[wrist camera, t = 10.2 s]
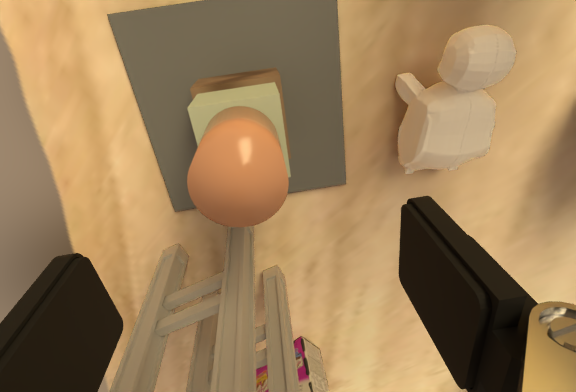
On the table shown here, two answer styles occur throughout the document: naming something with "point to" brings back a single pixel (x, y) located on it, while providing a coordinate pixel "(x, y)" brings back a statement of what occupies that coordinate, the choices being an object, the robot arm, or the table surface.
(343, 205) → the table surface
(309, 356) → the candy bar box
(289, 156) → the tower base
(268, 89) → the tower top
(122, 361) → the stool
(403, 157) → the cream shape with stub
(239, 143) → the peach egg shape
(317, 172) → the rubber mat
